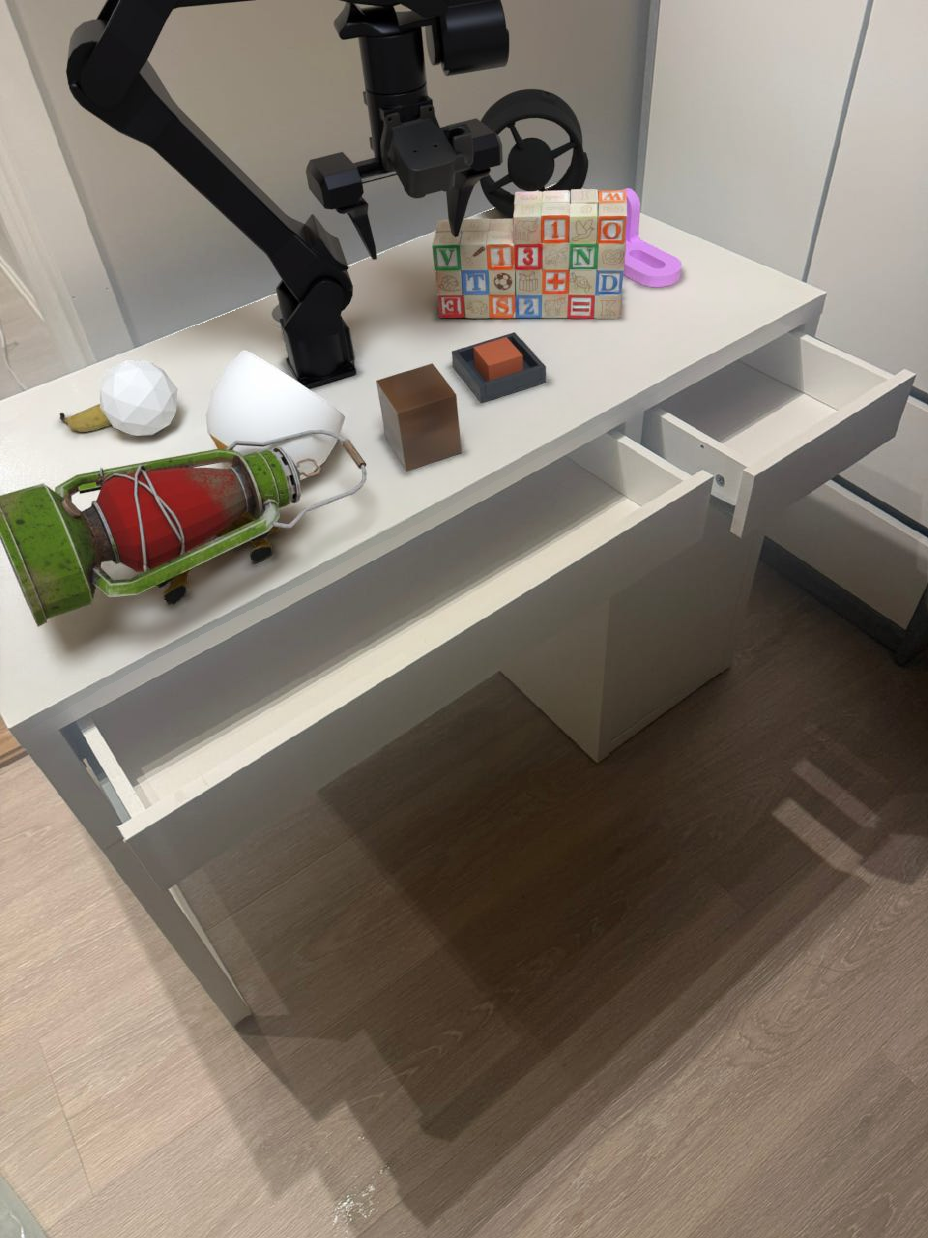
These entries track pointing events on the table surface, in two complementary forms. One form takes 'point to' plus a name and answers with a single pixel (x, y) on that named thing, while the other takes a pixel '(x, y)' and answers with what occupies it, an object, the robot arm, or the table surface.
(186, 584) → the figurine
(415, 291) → the table surface
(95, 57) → the robot arm
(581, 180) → the black spoked wheel
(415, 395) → the brown wooden cube
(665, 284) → the bracket
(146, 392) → the geometric ball
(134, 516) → the lantern
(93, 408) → the banana
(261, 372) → the cup
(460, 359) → the dark gray square tray
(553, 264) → the stack of blocks
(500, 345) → the orange square block
